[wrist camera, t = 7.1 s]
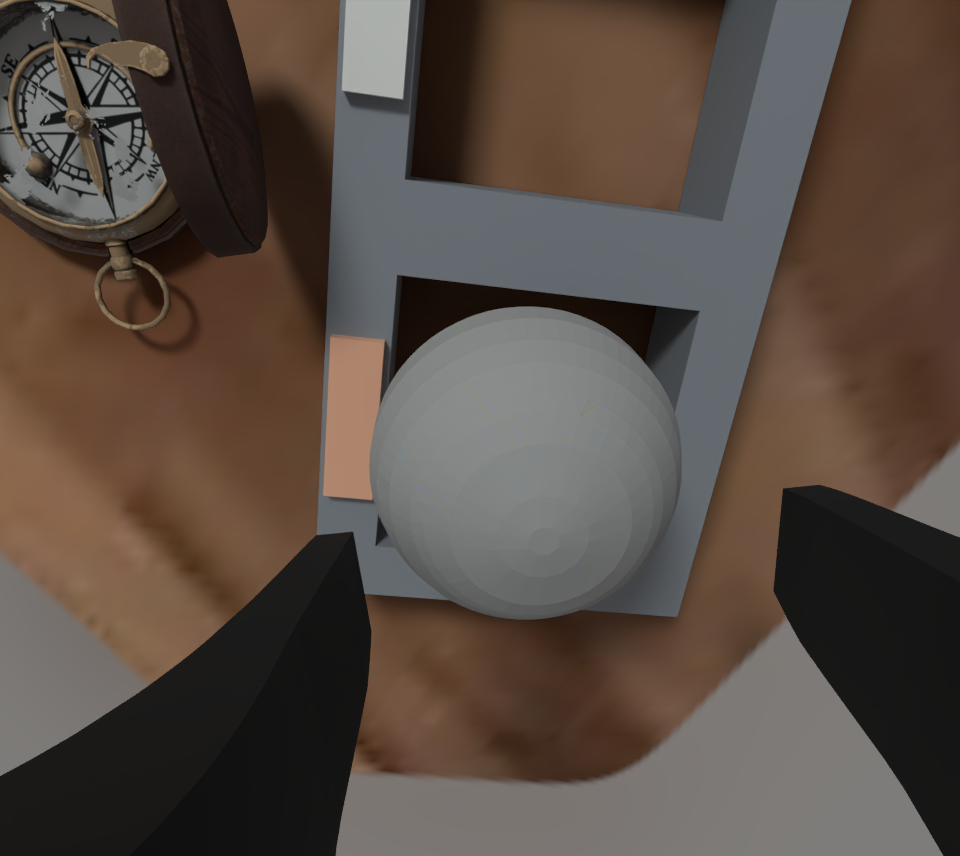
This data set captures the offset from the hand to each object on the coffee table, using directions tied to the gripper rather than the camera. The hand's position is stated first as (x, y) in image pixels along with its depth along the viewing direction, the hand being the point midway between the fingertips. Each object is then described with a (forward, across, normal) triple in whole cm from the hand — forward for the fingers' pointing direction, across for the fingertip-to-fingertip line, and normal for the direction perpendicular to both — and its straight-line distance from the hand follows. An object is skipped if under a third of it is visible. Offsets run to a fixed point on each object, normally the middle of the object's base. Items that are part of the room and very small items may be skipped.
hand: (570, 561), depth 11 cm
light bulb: (+9, +1, -1) cm, 9 cm away
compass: (+9, +9, -7) cm, 14 cm away
